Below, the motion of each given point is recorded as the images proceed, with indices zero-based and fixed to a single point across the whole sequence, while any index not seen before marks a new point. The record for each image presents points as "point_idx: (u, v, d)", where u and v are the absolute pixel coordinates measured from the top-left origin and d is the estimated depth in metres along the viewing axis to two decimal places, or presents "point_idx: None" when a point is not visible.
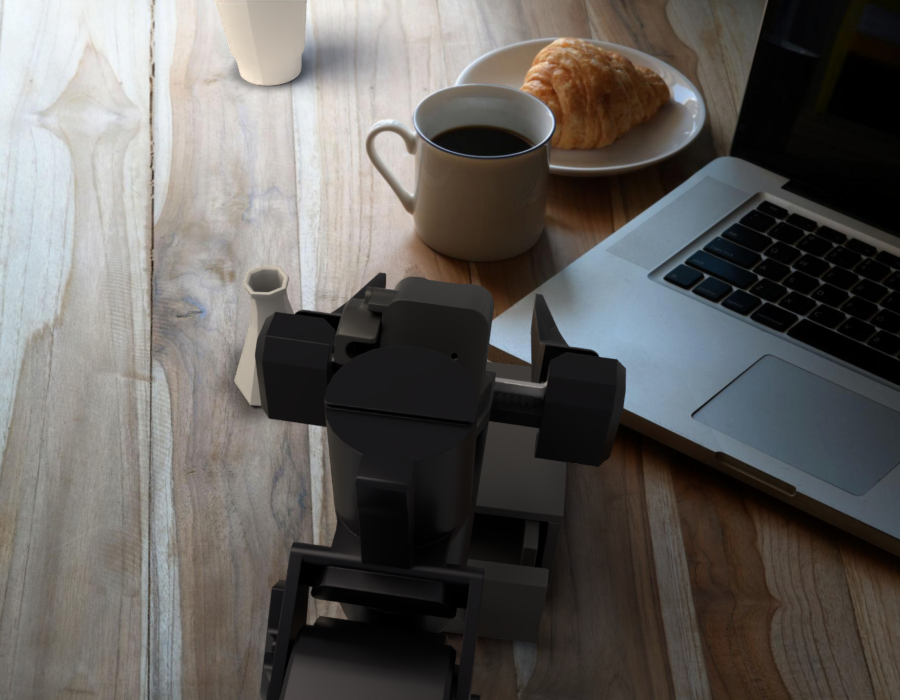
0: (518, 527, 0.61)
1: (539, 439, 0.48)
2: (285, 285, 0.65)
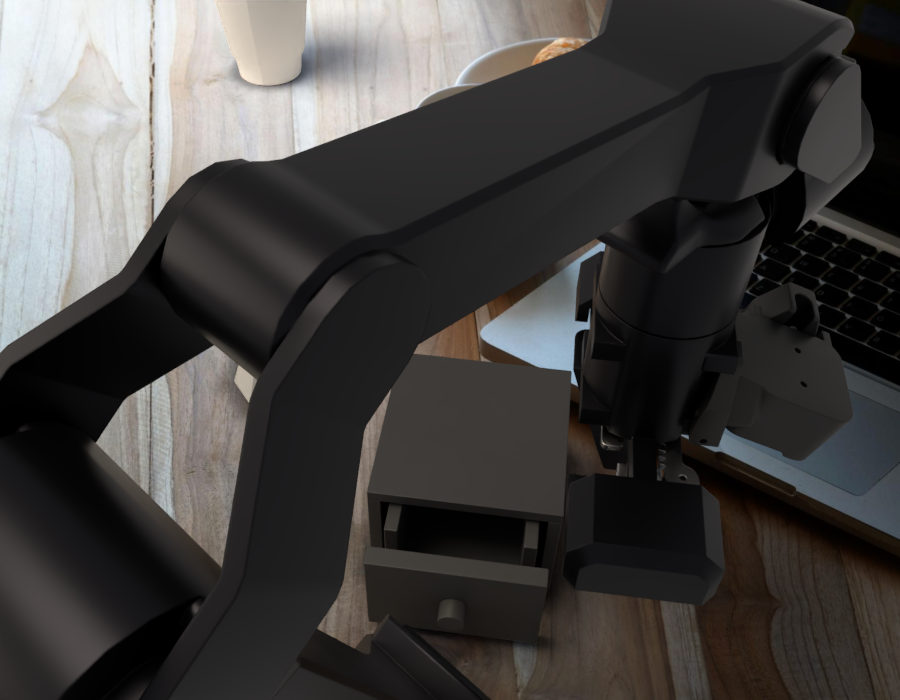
0: (518, 527, 0.61)
1: (630, 478, 0.38)
2: None
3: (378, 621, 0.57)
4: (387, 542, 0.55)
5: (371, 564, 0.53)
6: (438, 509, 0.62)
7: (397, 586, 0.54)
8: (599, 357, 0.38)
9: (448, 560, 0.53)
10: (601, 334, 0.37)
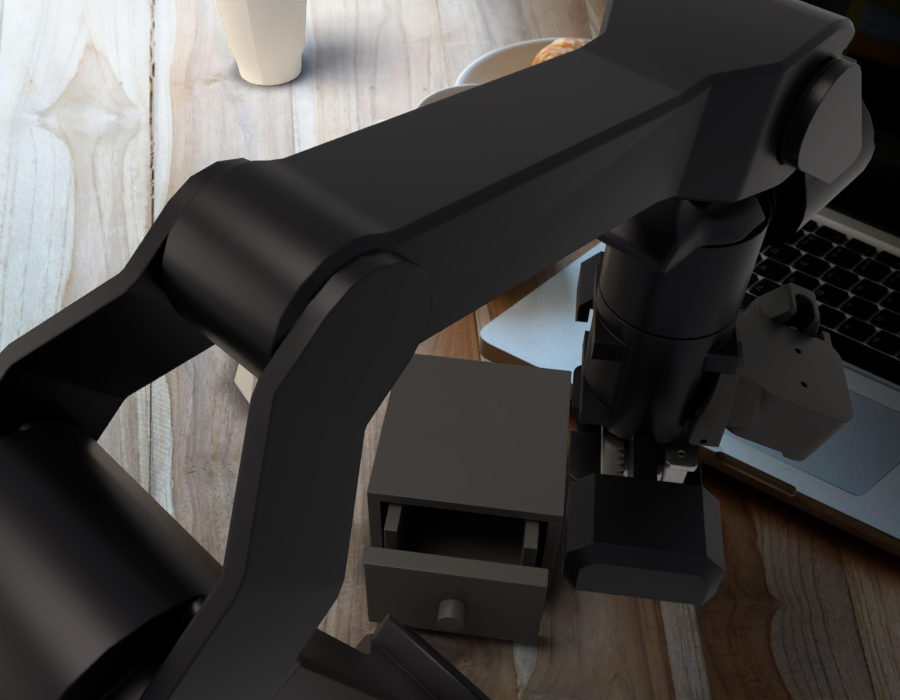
0: (518, 527, 0.61)
1: (631, 478, 0.38)
2: None
3: (378, 621, 0.57)
4: (387, 542, 0.55)
5: (371, 564, 0.53)
6: (438, 509, 0.62)
7: (397, 586, 0.54)
8: (599, 357, 0.38)
9: (448, 560, 0.53)
10: (601, 334, 0.37)
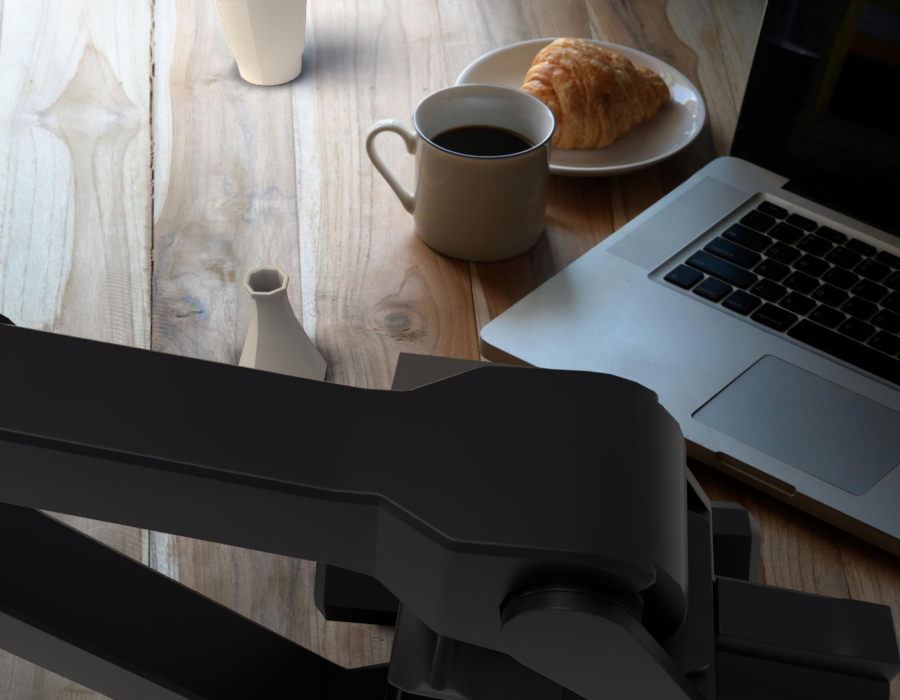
0: None
1: None
2: (285, 285, 0.65)
3: None
4: None
5: None
6: None
7: None
8: None
9: None
10: None
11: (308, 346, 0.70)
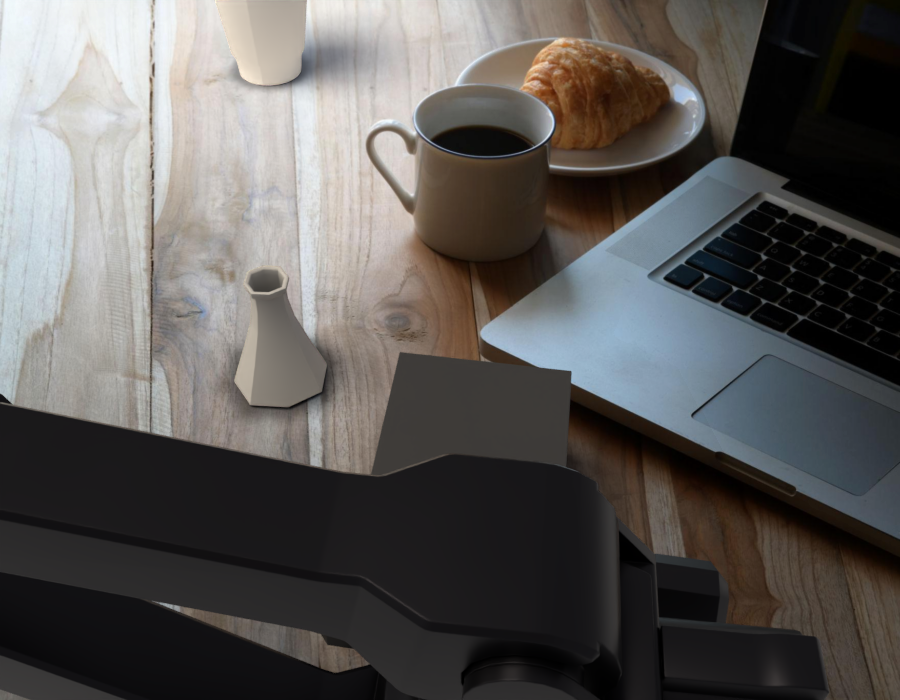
0: None
1: None
2: (285, 285, 0.65)
3: None
4: None
5: None
6: None
7: None
8: None
9: None
10: None
11: (308, 346, 0.70)
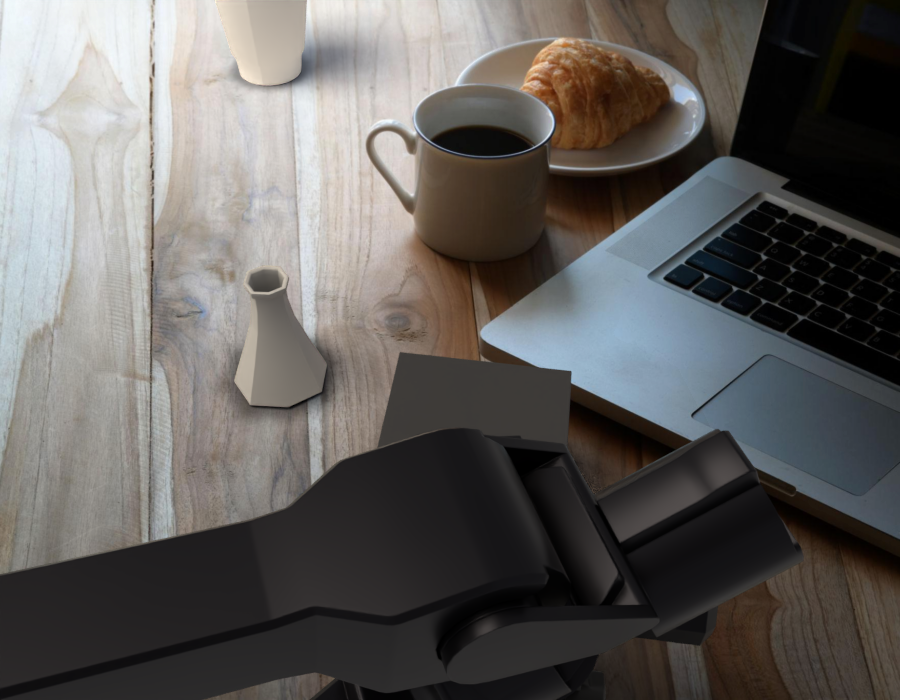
0: None
1: None
2: (285, 285, 0.65)
3: None
4: None
5: None
6: None
7: None
8: None
9: None
10: None
11: (308, 346, 0.70)
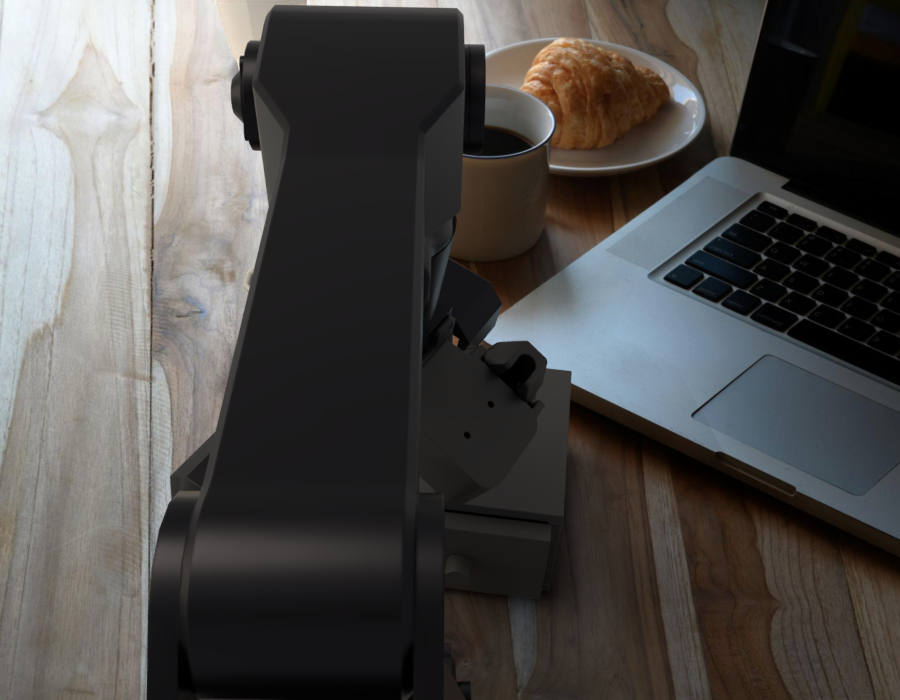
0: None
1: None
2: None
3: None
4: None
5: None
6: None
7: None
8: None
9: (455, 516, 0.55)
10: None
11: None
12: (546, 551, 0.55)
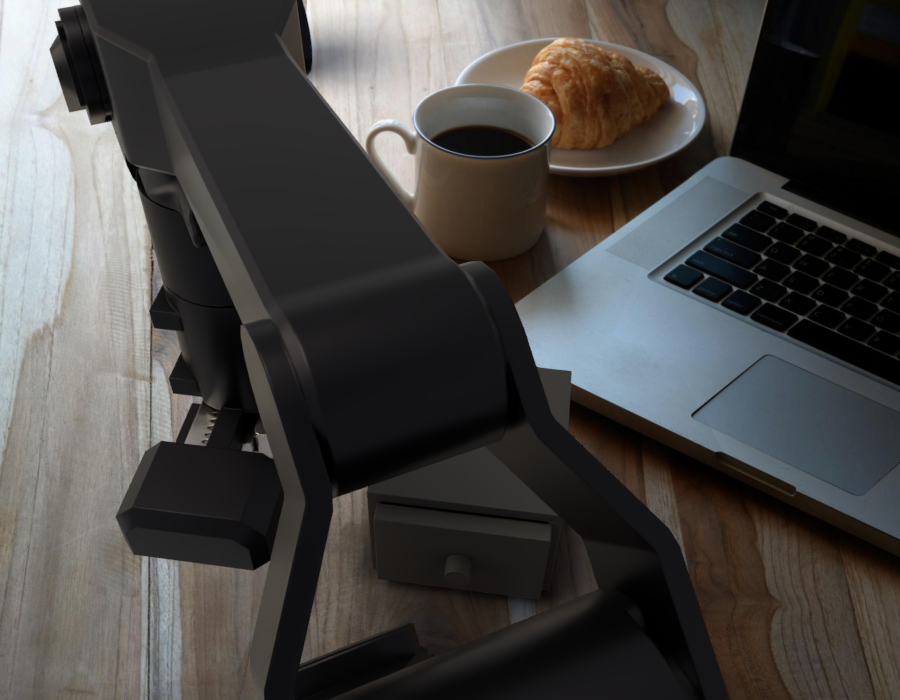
0: None
1: (195, 446, 0.39)
2: None
3: (387, 578, 0.59)
4: None
5: (381, 520, 0.55)
6: None
7: (406, 542, 0.56)
8: (161, 326, 0.38)
9: (455, 516, 0.55)
10: (159, 303, 0.38)
11: None
12: (546, 551, 0.55)
